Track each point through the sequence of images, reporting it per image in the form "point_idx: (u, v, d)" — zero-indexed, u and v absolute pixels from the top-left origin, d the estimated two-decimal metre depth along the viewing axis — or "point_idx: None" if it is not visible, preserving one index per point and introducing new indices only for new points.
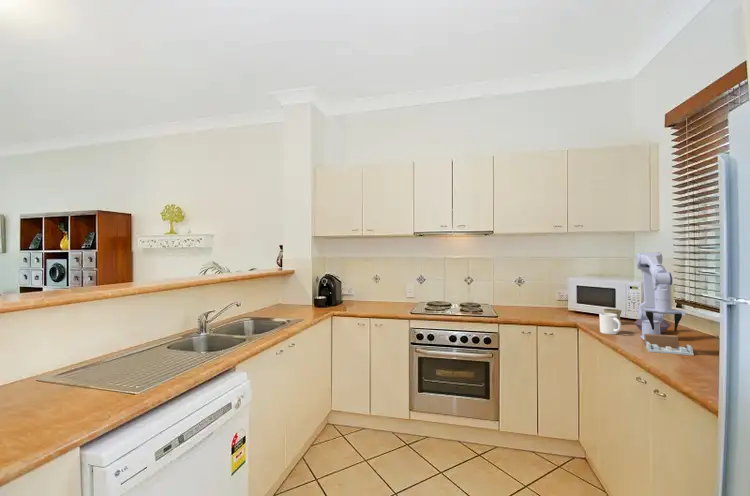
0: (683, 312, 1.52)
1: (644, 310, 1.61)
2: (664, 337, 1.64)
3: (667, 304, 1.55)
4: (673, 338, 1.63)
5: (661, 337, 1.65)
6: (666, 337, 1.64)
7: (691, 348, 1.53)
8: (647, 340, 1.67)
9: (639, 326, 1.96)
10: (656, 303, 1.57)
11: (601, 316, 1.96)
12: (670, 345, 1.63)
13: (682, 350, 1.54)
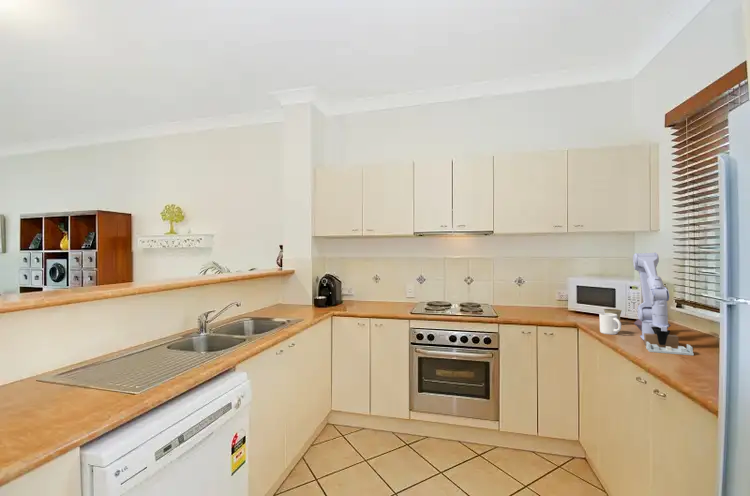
0: (661, 327, 1.61)
1: None
2: None
3: (654, 318, 1.66)
4: (673, 338, 1.63)
5: None
6: None
7: (691, 348, 1.53)
8: (647, 340, 1.67)
9: (639, 326, 1.96)
10: None
11: (601, 316, 1.96)
12: (670, 345, 1.63)
13: (682, 350, 1.54)
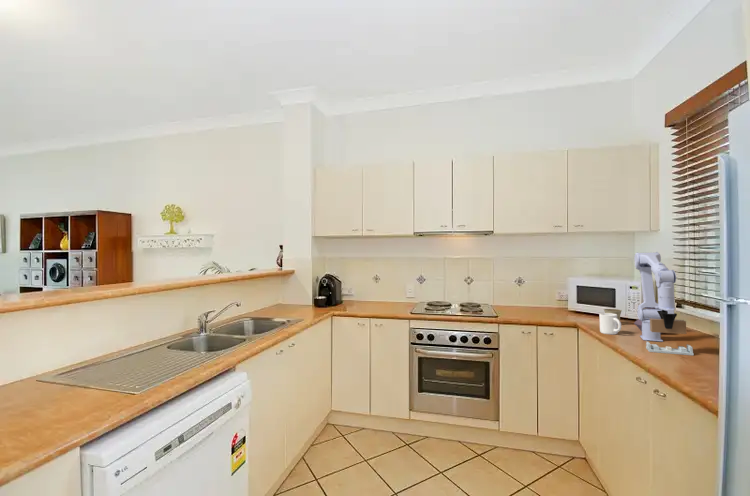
0: (667, 310, 1.54)
1: None
2: None
3: (660, 301, 1.59)
4: (680, 322, 1.55)
5: None
6: None
7: (691, 348, 1.53)
8: (653, 325, 1.60)
9: (639, 326, 1.96)
10: None
11: (601, 316, 1.96)
12: (677, 330, 1.56)
13: (682, 350, 1.54)
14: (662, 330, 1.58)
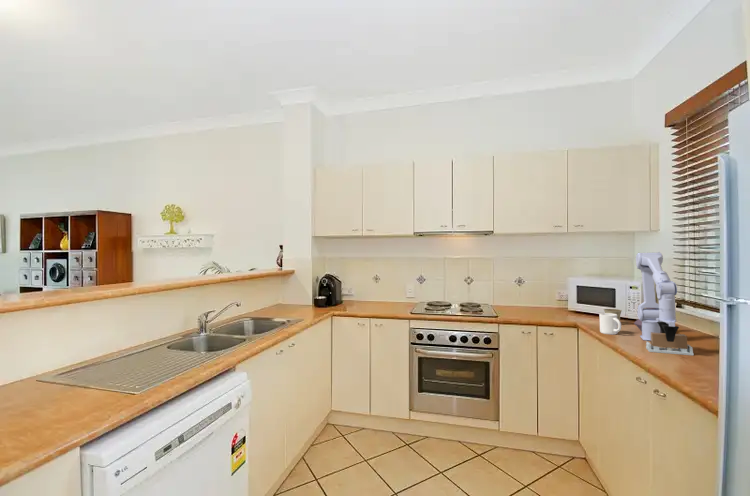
0: (668, 323, 1.53)
1: None
2: None
3: (661, 313, 1.58)
4: (681, 337, 1.55)
5: None
6: None
7: (691, 348, 1.53)
8: (654, 339, 1.59)
9: (639, 326, 1.96)
10: None
11: (601, 316, 1.96)
12: (678, 344, 1.55)
13: (682, 350, 1.54)
14: (663, 344, 1.58)
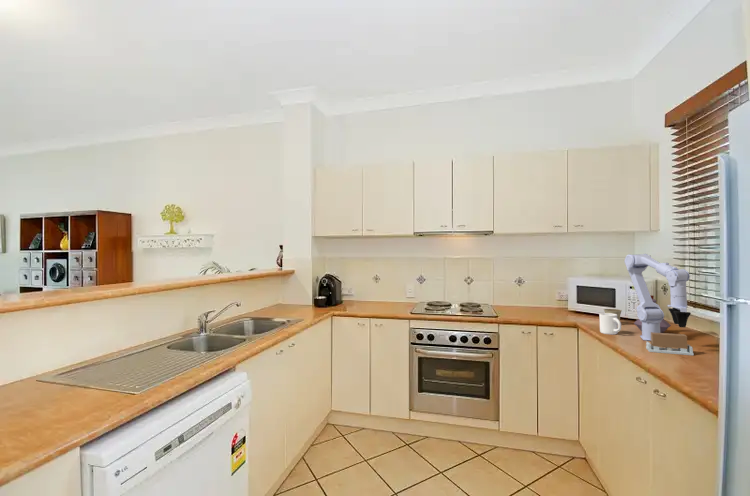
0: (680, 308, 1.57)
1: None
2: (672, 336, 1.56)
3: (673, 299, 1.63)
4: (681, 337, 1.55)
5: (669, 336, 1.57)
6: (674, 336, 1.56)
7: (691, 348, 1.53)
8: (654, 339, 1.59)
9: (639, 326, 1.96)
10: None
11: (601, 316, 1.96)
12: (678, 344, 1.55)
13: (682, 350, 1.54)
14: (663, 344, 1.58)
